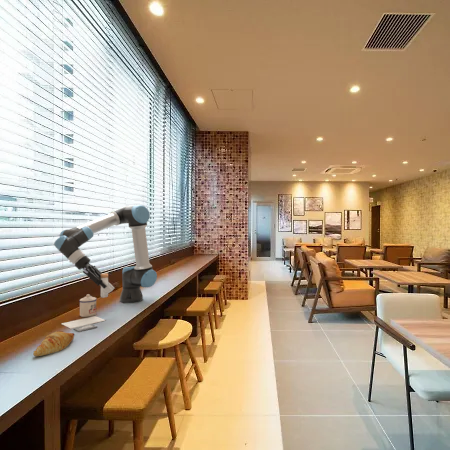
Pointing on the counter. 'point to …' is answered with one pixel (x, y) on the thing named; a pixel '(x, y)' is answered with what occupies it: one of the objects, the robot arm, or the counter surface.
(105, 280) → the white bottle
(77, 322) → the paper
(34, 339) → the counter surface
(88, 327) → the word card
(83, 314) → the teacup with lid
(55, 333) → the croissant
